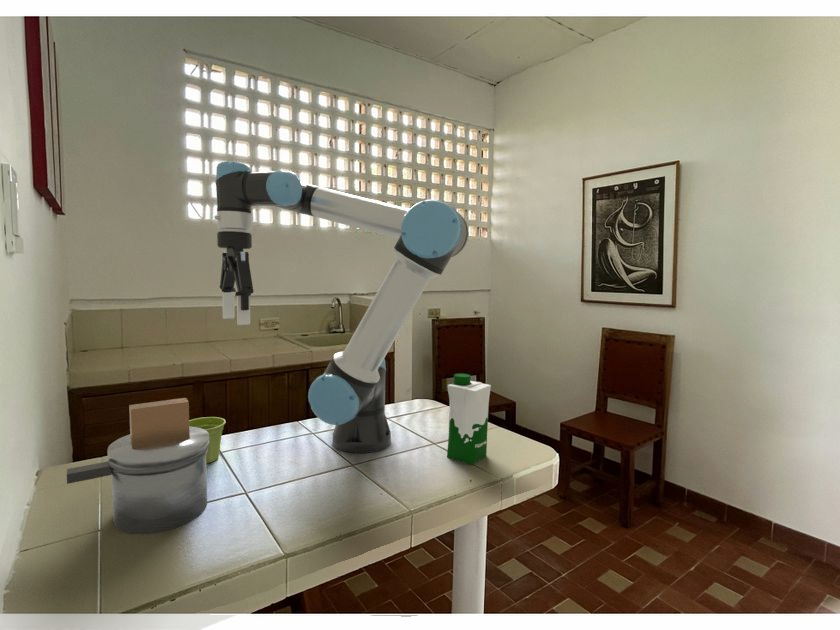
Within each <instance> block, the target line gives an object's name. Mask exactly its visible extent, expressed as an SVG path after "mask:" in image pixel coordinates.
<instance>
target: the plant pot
mask: <svg viewBox="0 0 840 630" xmlns="http://www.w3.org/2000/svg"><path fill="white" fill-rule="evenodd" d="M226 423H227V422H226V419H225V418H222V417H217V416H207V417H198V418H193V419H189V426H191V427H198V428H202V429H204V430H206V431H207V432H208V433H209V445H208V452H207V454H206V464H210V463H213V462H215V461H216V460H218V459H219V457H220V451H221V442H222V441H221V440H222V434H223V430H224V426H225V425H226Z"/></svg>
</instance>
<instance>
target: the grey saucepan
mask: <svg viewBox="0 0 840 630" xmlns="http://www.w3.org/2000/svg"><path fill="white" fill-rule="evenodd" d="M207 452H208V446H207V447H206V448H205V449H204V450H202V451H201V452H199V453H197V454H195V455H193V456H190V457H188V458H185V459H182V460H178V461H174V462H170V463H165V464H159V465H152V466H123V465H118V464H115V463H113V462H111V461H110V460H109V459H108V461H103V462H98V463H93V464H86V465H81V466H75V467H71V468H70V467H69V468H67V469H66V485H68V484H74V483H77V482H78V483H79V482H83V481H88V480H94V479H97V478H103V477H108V476H111V494H112V496H111V499H112V519H113V520H112V522H113V525H114V527H115V528H116V530H118V531H120V532H122V533H126V534H130V535H131V534H133V535H145V534H146V535H147V534H148V535H149V534H154V533H160V532H164V531H168V530H169V531H170V530H172V529H176V528H178V527H181V526H183V525H185V524H188V523H190V522H192V521H193V520H195V519H197V518H198V517H199V516H200V515H201V514H202V513H204V511H205V510H206V508H207V506H208V482H207V479H208V478H207V477H208V475H207V463H206V454H207Z"/></svg>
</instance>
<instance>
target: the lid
mask: <svg viewBox="0 0 840 630" xmlns="http://www.w3.org/2000/svg"><path fill="white" fill-rule="evenodd" d="M189 403H190V402H189V400H188V398H187V397H182V398H181V397H180V398H173V399H166V400H159V401H151V402H144V403H143V402H141V403H135V404H129V405H128V407H129V410H128V411H129V431H130V432H129V433H130V434H127V435H125V436H121V437H120V438H118V439H116V440H114V441H113V442H112V443H110V444H109V445H108V447H107V451H106V452H107V459H108V461H109V460H110V461H111V462H113V463H115V464H118V465H123V466H152V465H159V464H165V463H170V462H174V461H178V460H182V459H185V458H188V457H190V456H193V455H195V454H197V453H199V452H201V451H202V450H204V449H205V448H206V447H207V446H208V445H209V433H208V432H207V431H206V430H204V429H202V428H198V427H191V426H189V420H190V404H189Z"/></svg>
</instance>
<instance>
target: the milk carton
mask: <svg viewBox="0 0 840 630" xmlns="http://www.w3.org/2000/svg"><path fill="white" fill-rule="evenodd" d="M471 376H472V375H470V374H468V373H461V372H459V373H454V374H453V382H452V383H450V384H447V392H448V398H449V411H448V412H449V416H448V418H449V419H448V438H447V439H448V440H447V451H446V457H447V458H448V459H451V460H456V461H459V462H462V463H465V464H467V465H471V466H472V465H474V464H476V463H477V462H479V461H481V460H482V459H484V458H485V457H487V451H488V449H487V448H488V447H487V446H488V428H489V427H488V424H489V402H490V395H491V388H492V385H491V384H487V383H483V382H481V381H474V380H471Z"/></svg>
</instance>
